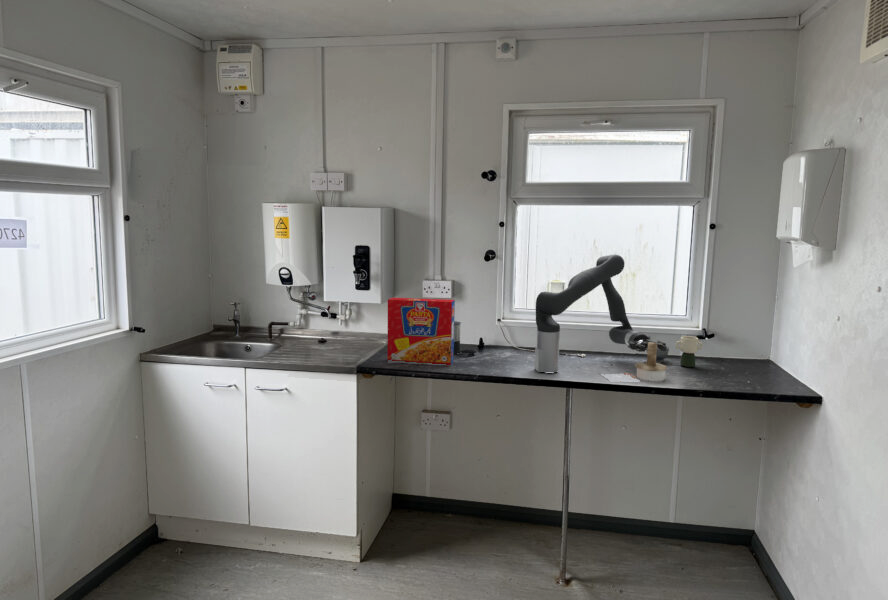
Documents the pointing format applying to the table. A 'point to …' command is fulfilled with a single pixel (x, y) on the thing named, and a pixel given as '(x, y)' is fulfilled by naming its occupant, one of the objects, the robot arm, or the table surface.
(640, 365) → the paper towel holder
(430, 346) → the pasta box
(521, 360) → the table surface
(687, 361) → the character mug
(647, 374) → the bowl
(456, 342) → the milk frother
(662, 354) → the mortar and pestle
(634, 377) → the mat
